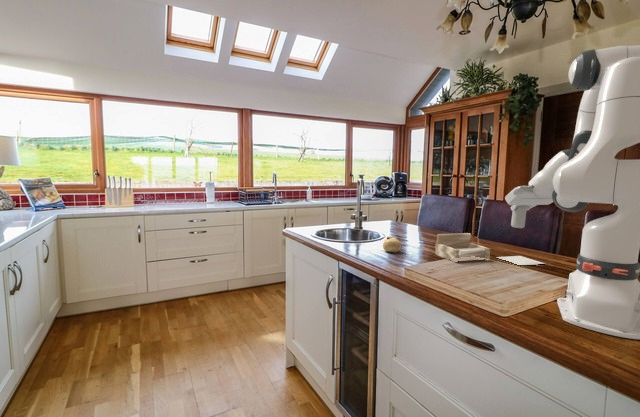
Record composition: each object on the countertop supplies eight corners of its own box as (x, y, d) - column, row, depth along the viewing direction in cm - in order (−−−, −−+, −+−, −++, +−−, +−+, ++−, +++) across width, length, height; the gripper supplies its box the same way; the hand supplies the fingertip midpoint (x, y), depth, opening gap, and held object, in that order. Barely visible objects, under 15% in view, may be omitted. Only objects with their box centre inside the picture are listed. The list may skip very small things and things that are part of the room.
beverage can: (509, 226, 133) (512, 197, 131) (512, 225, 136) (515, 196, 135) (523, 228, 130) (526, 198, 128) (525, 227, 133) (529, 197, 131)
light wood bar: (484, 260, 134) (485, 249, 134) (458, 262, 131) (459, 251, 131) (477, 258, 138) (478, 247, 138) (451, 259, 135) (452, 248, 135)
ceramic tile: (545, 264, 129) (545, 263, 129) (519, 266, 126) (519, 265, 126) (520, 257, 141) (520, 255, 141) (496, 258, 138) (496, 257, 138)
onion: (394, 249, 152) (395, 234, 152) (404, 253, 145) (405, 237, 144) (379, 250, 150) (380, 235, 149) (388, 254, 142) (389, 238, 142)
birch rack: (489, 260, 134) (491, 239, 133) (455, 262, 131) (456, 240, 130) (466, 252, 148) (467, 232, 147) (435, 254, 144) (436, 233, 143)
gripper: (524, 192, 117) (501, 215, 128) (569, 192, 123) (543, 215, 133) (515, 179, 121) (493, 203, 132) (559, 180, 126) (534, 203, 137)
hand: (518, 209), depth 132 cm, fingers closed on beverage can, 5 cm apart
